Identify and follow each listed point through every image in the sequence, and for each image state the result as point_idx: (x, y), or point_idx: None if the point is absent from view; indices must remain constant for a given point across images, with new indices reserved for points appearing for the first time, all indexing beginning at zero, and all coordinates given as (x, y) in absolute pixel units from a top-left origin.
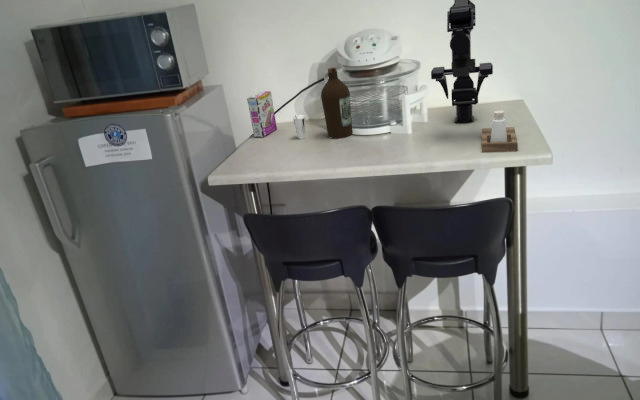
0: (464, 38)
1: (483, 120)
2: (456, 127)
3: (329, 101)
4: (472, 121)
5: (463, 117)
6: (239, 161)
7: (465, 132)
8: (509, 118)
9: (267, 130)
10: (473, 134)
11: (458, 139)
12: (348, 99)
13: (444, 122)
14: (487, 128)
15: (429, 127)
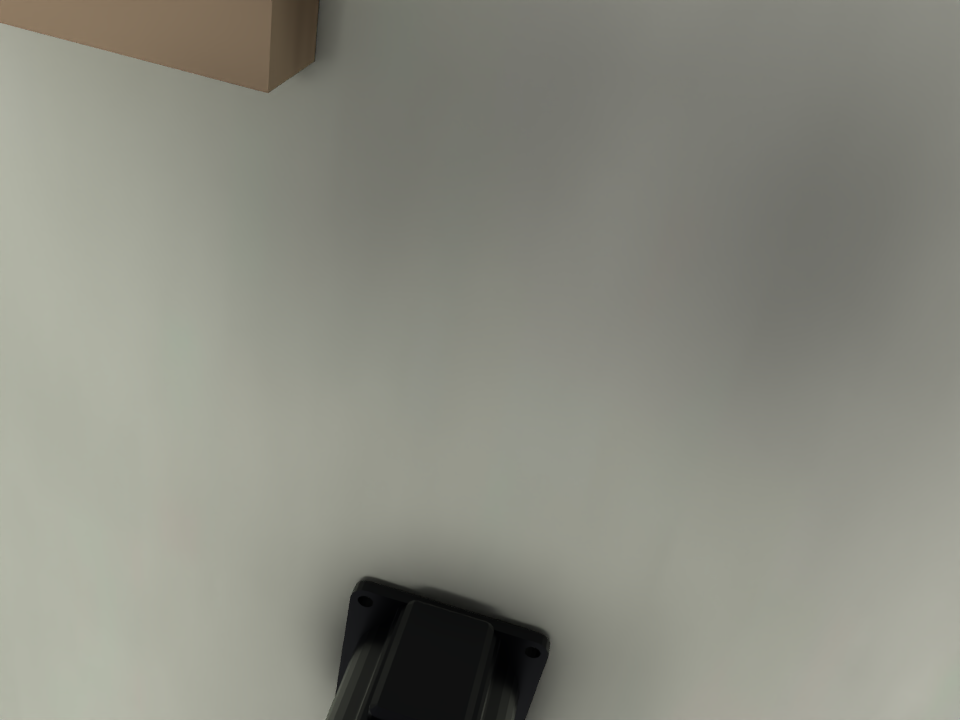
0: None
1: (256, 583)
2: (569, 516)
3: None
4: (365, 586)
5: (447, 651)
6: None
7: (504, 299)
8: (17, 523)
9: None
10: (416, 174)
11: (675, 19)
12: None
13: (653, 708)
14: (183, 59)
15: (877, 652)
